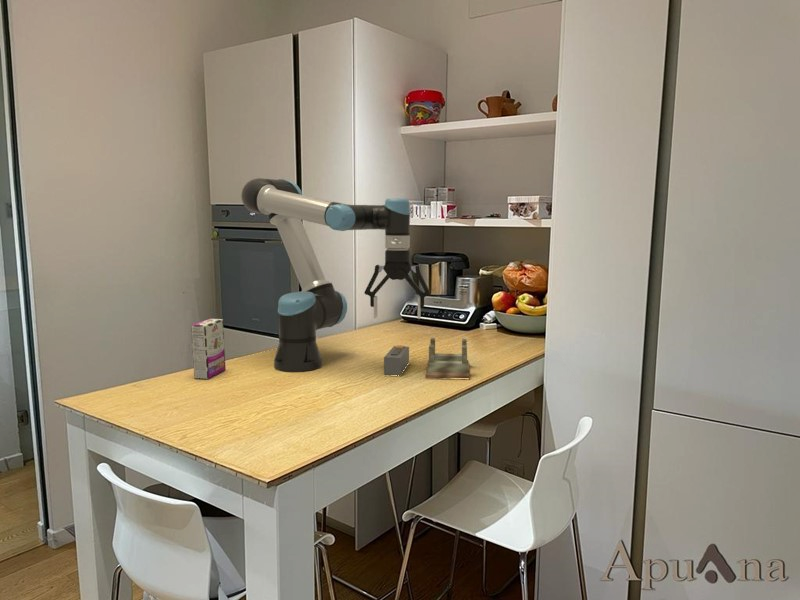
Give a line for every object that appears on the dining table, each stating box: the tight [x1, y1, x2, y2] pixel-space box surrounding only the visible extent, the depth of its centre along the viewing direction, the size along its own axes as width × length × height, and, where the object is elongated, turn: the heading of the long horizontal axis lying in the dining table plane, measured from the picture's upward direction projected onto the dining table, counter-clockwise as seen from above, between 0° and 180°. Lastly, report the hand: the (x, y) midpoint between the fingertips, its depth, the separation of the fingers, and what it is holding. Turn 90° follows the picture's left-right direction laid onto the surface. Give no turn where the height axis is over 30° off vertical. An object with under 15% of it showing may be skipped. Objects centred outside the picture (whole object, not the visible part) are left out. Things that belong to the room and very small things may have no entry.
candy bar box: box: [190, 318, 227, 380], centre depth 187 cm, size 11×5×16 cm, turn 168°
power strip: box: [383, 344, 410, 377], centre depth 194 cm, size 5×16×6 cm, turn 170°
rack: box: [424, 337, 470, 379], centre depth 193 cm, size 13×20×9 cm, turn 175°
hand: (397, 317), depth 193 cm, fingers open, 13 cm apart
